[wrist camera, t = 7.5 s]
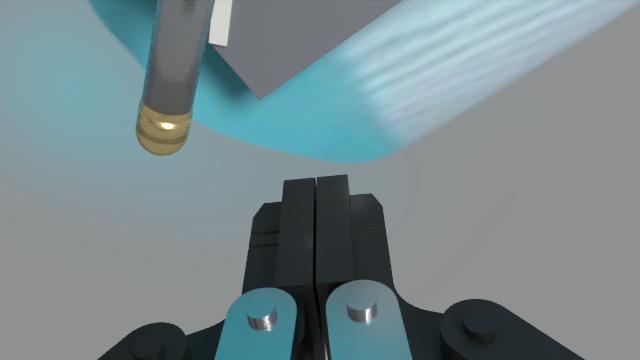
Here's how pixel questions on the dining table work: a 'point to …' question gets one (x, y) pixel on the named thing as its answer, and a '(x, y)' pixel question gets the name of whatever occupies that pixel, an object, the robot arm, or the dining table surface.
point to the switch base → (284, 34)
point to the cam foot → (172, 74)
